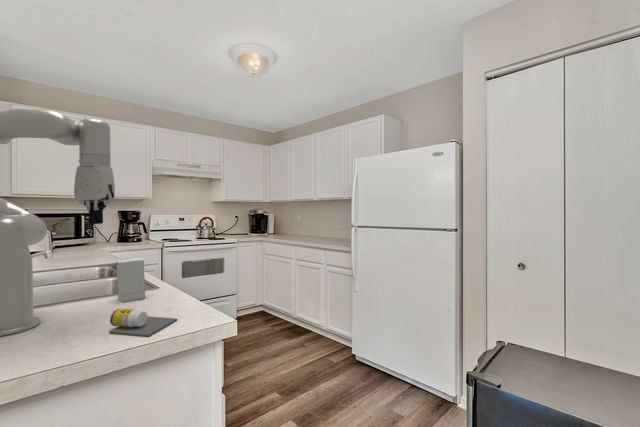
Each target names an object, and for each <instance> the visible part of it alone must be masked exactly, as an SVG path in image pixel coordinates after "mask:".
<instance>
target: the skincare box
mask: <svg viewBox="0 0 640 427" xmlns="http://www.w3.org/2000/svg"><path fill="white" fill-rule="evenodd" d="M116 276H117V278H116V279H117V299H118V301H119V303H120V302H122V303H127V302H132V301H137V300H144V299H146V283H145V282H146V280H145V259H143V258H142V257H134V258H127V259H118V260H116Z"/></svg>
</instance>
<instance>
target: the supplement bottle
mask: <svg viewBox="0 0 640 427" xmlns="http://www.w3.org/2000/svg"><path fill="white" fill-rule="evenodd" d="M147 316H148V314H147V312H145V311H142V310H138V309H134V308H132V309H130V308H116V309H114V310H113V311H112V312H111V314H110V316H109V324H110V325H111V326H113V327H120V326H121V327H135V326H138V327H141V326H143V325H144V324H145V322H146V320H147Z"/></svg>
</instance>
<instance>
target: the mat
mask: <svg viewBox="0 0 640 427" xmlns="http://www.w3.org/2000/svg"><path fill="white" fill-rule="evenodd" d="M177 321H178V318H174V317H161V316H160V317H159V316H148V315H147V320H146V322H145V324H144V325H143V326H141V327H138V326H135V327H121V326H117V327H115V328H114V329H110V331H109V332H108V333H109V335H110V334H111V335H122V336H132V337H133V336H134V337H144V338H150V337H151V336H153V335H155V334H156V333H158V332H160V331H162V330H164V329H165V328H168V327H169V326H171V325H173V324H174V323H176V322H177Z"/></svg>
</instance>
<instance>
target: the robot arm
mask: <svg viewBox="0 0 640 427" xmlns="http://www.w3.org/2000/svg"><path fill="white" fill-rule="evenodd" d="M23 138H24V139H26V138H27V139H29V138H30V139H31V138H32V139H33V138H34V139H49V140H52V141H55V142H57V143H60V144H62V145H65V146H78V150H79V151H78V152H79V154H78V155H79V156H78V158H79V159H78V163H79V166H77V167H76V171H75V176H74V185H73V186H74V187H73V188H74V190H73V194H74V195H73V196H74V198H75V199H76V200H78V203H79V204H80V205H83V206H85V207H86V210H87V211H88V223H89V225H100V224H104V211H105V210H106V207H107V206H109V205H112V204H114V203H113V202H114V199H115V194H116V189H115V188H116V187H115V176H114V172H113V171H114V170H113V167H111V127H110V124H109V123H107V121H104V120H100V119H95V118H83V119H81V120H80V121H76V120H73V119H71V118H69V116H68V117H67V116H66V115H64V114H62V113H59V112H58V111H57V112H56V111H54V110H49V109H48V110H47V109H46V110H43V109H29V108H14V109H7V110H6V109H5V110H1V111H0V145H5V144H6V145H7V144H9V143H10V142H11V141H12V139H13V140H14V139H23ZM47 228H48V227H47V224H46V222H44V220H43V219H42V218H40V217H39V216H37V215H35V214H34V213H31V211H28V210H26V209H24V208H22V207H21V206H19V205H16V204H15V203H13V202H11V201H8V200H6V199H5V198H2V197H0V337H2V336H8V335H9V336H10V335H14V334H17V333H21V332H26V331H27V330H28V331H29V330H30V329H33V328H35V327H37V326H39V325H40V324H41V321H42V320H41V317H39V316H35V315H34V278H33V277H34V273H33V272H34V271H33V258H32V254H31V251H30V248H29V247H30V246H33V245H36V244H38V243H40V242H41V241H43V240H44V239H45V237H46V236H47V233H48V229H47Z"/></svg>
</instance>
